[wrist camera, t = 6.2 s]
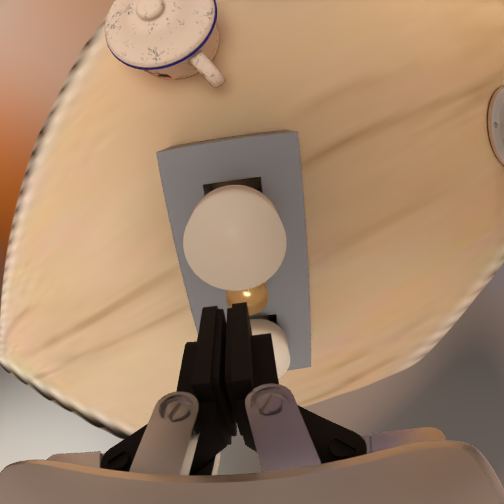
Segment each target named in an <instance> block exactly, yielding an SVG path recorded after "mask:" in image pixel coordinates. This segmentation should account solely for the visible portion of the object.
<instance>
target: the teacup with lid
mask: <svg viewBox="0 0 504 504" xmlns="http://www.w3.org/2000/svg"><path fill="white" fill-rule="evenodd" d="M216 19H217V6H216V2H215V0H115V2H114V3H113V5H112V6H111V8H110V10H109V12H108V15H107V18H106V23H105V37H106V41H107V44H108V47H109V49H110V51H111V52H112V54H113V55H114V56H115V57H116V58H117V59H118V60H119V61H121V62H122V63H124V64H126V65H128V66H130V67H133V68H137V69H143V70H144V71H146V72H148V73H150V74H152V75H154V76H156V77H159V78H163V79H171V80H174V79H182V78H186V77H189V76H192V75H194V74H196V73H198V72H199V73H200V74H201V75H202V76H203V77H204V78H205V79H206V80H207V81H208V82H209V83H210V84H211V85H212V86H213V87H219V86H220V85H221V84H223V83H224V81H225V79H224V76H223V75H222V73H221V72H220V71H219V70H218V69H217V67H216V66H215V65H214V64H213V63H212V62H211V60H212V59H213V58H214V56H215V54H216V52H217V50H218V46H219V40H220V36H219V29H218V25H217V20H216Z"/></svg>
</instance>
